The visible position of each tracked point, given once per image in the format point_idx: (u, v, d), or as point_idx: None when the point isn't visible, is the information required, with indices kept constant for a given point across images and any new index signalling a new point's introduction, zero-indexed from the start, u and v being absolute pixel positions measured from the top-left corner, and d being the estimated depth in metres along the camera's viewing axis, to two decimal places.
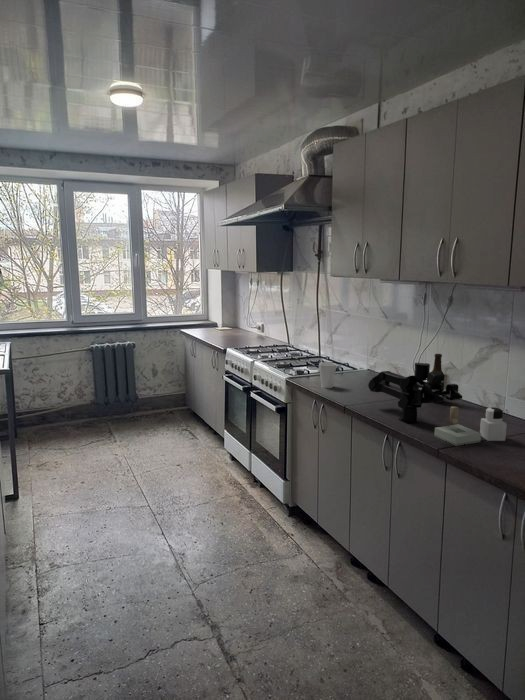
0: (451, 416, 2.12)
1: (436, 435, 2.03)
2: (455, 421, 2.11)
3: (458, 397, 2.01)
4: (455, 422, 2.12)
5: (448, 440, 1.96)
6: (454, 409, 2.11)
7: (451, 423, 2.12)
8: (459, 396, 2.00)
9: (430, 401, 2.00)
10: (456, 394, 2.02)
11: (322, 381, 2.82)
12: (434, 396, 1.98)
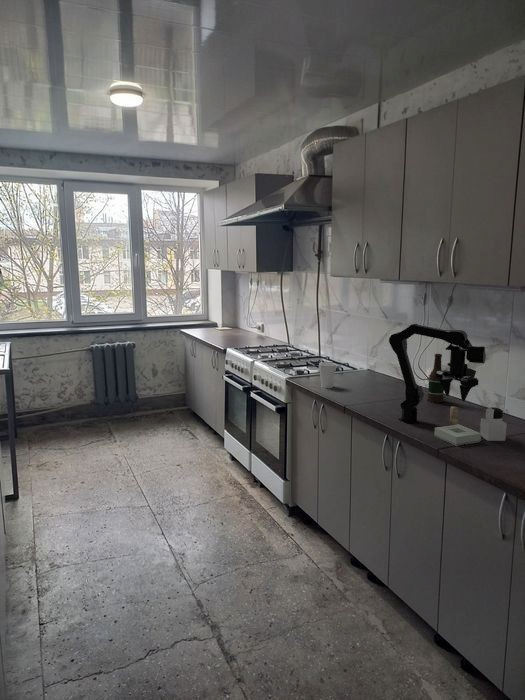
0: (451, 416, 2.12)
1: (436, 435, 2.03)
2: (455, 421, 2.11)
3: (447, 391, 2.15)
4: (455, 422, 2.12)
5: (448, 440, 1.96)
6: (454, 409, 2.11)
7: (451, 423, 2.12)
8: (448, 393, 2.15)
9: (463, 390, 2.04)
10: (448, 388, 2.15)
11: (322, 381, 2.82)
12: (466, 392, 2.06)
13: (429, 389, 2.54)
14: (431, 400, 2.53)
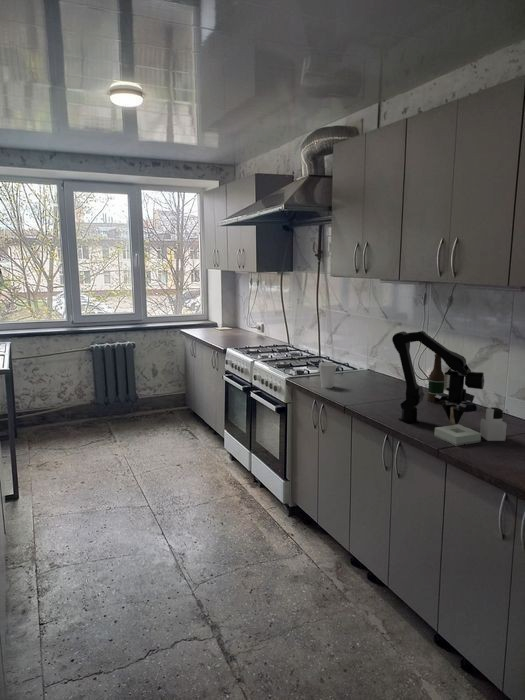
0: (451, 416, 2.12)
1: (436, 435, 2.03)
2: None
3: None
4: None
5: (448, 440, 1.96)
6: None
7: (451, 423, 2.12)
8: None
9: (456, 413, 2.08)
10: None
11: (322, 381, 2.82)
12: (460, 416, 2.10)
13: (429, 389, 2.54)
14: (431, 400, 2.53)
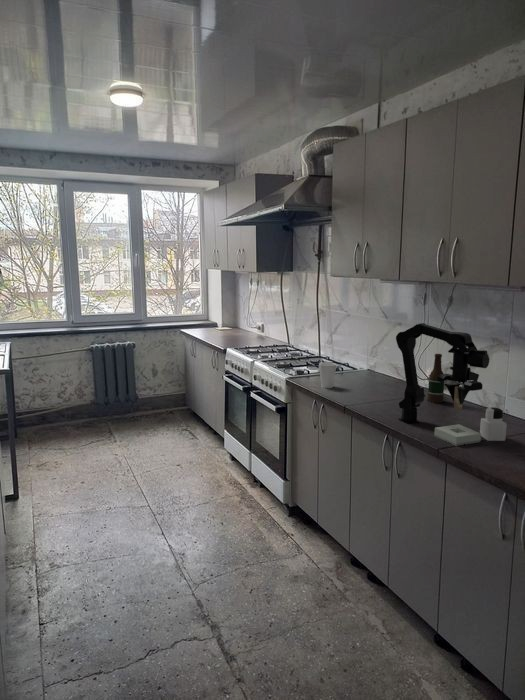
0: (455, 396, 2.04)
1: (436, 435, 2.03)
2: None
3: None
4: None
5: (448, 440, 1.96)
6: None
7: (456, 403, 2.04)
8: None
9: (461, 393, 2.00)
10: None
11: (322, 381, 2.82)
12: (465, 395, 2.02)
13: (429, 389, 2.54)
14: (431, 400, 2.53)
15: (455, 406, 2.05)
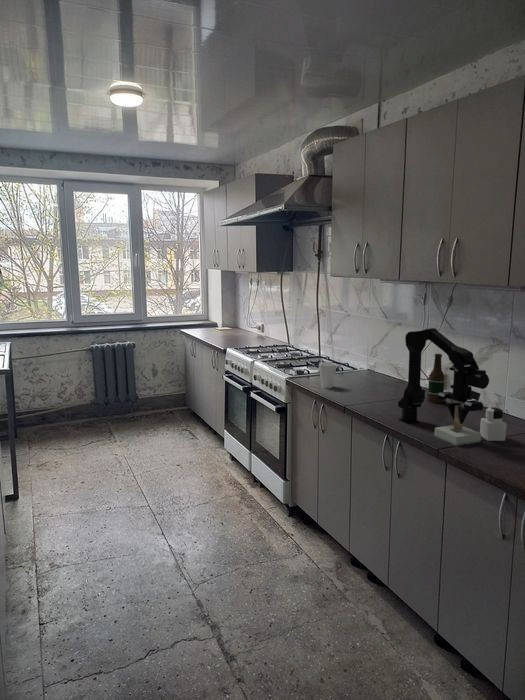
0: (456, 415, 1.98)
1: (436, 435, 2.03)
2: None
3: None
4: None
5: (448, 440, 1.96)
6: None
7: (456, 423, 1.99)
8: None
9: (461, 412, 1.95)
10: None
11: (322, 381, 2.82)
12: (465, 415, 1.96)
13: (429, 389, 2.54)
14: (431, 400, 2.53)
15: (455, 425, 1.99)
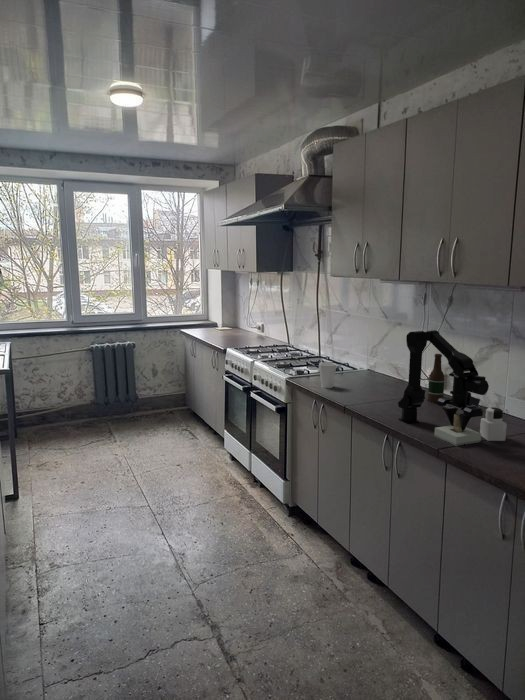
0: (455, 424, 1.99)
1: (436, 435, 2.03)
2: (459, 429, 1.98)
3: (452, 421, 2.02)
4: (459, 430, 1.98)
5: (448, 440, 1.96)
6: (458, 417, 1.98)
7: (455, 431, 1.99)
8: (453, 423, 2.02)
9: (463, 419, 1.94)
10: (453, 418, 2.02)
11: (322, 381, 2.82)
12: (466, 422, 1.96)
13: (429, 389, 2.54)
14: (431, 400, 2.53)
15: None
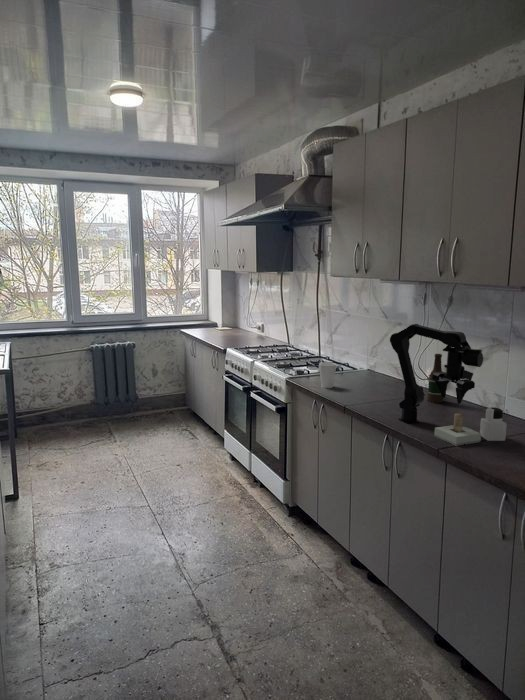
0: (455, 424, 1.99)
1: (436, 435, 2.03)
2: (459, 429, 1.98)
3: (443, 393, 2.12)
4: (459, 430, 1.98)
5: (448, 440, 1.96)
6: (458, 417, 1.98)
7: (455, 431, 1.99)
8: (444, 395, 2.13)
9: (459, 392, 2.01)
10: (445, 390, 2.13)
11: (322, 381, 2.82)
12: (462, 395, 2.03)
13: (429, 389, 2.54)
14: (431, 400, 2.53)
15: None
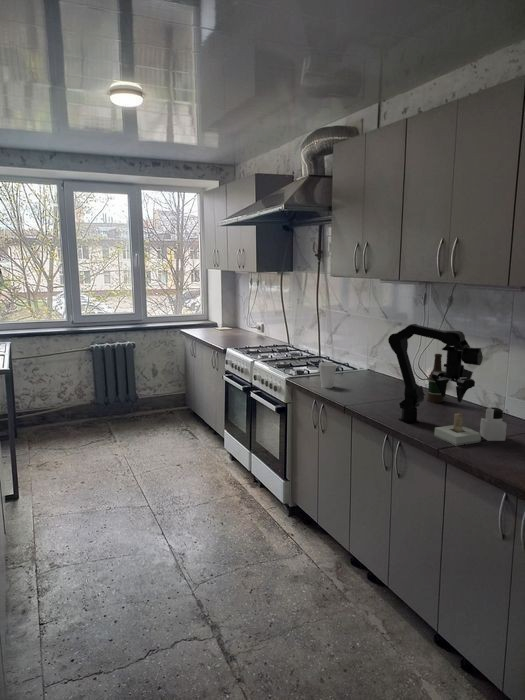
0: (455, 424, 1.99)
1: (436, 435, 2.03)
2: (459, 429, 1.98)
3: (443, 392, 2.13)
4: (459, 430, 1.98)
5: (448, 440, 1.96)
6: (458, 416, 1.98)
7: (455, 431, 1.99)
8: (444, 394, 2.13)
9: (459, 391, 2.02)
10: (444, 389, 2.13)
11: (322, 381, 2.82)
12: (463, 394, 2.04)
13: (429, 389, 2.54)
14: (431, 400, 2.53)
15: None
